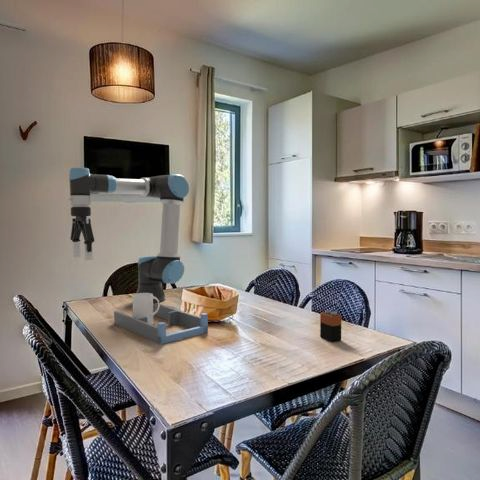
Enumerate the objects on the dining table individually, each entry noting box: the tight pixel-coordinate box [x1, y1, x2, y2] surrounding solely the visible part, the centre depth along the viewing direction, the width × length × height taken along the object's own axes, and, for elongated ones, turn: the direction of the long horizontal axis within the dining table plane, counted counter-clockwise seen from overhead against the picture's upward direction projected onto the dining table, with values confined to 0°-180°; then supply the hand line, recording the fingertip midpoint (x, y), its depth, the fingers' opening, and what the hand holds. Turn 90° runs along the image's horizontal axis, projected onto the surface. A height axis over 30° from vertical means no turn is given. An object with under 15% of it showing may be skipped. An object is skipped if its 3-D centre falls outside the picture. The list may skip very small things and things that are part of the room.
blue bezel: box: [157, 312, 209, 345], centre depth 142 cm, size 20×2×7 cm, turn 133°
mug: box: [132, 292, 161, 325], centre depth 161 cm, size 12×8×12 cm
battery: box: [319, 309, 342, 343], centre depth 139 cm, size 4×7×10 cm, turn 27°
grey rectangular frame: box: [113, 303, 201, 344], centre depth 155 cm, size 20×34×5 cm, turn 43°
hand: (82, 258), depth 160 cm, fingers open, 13 cm apart
